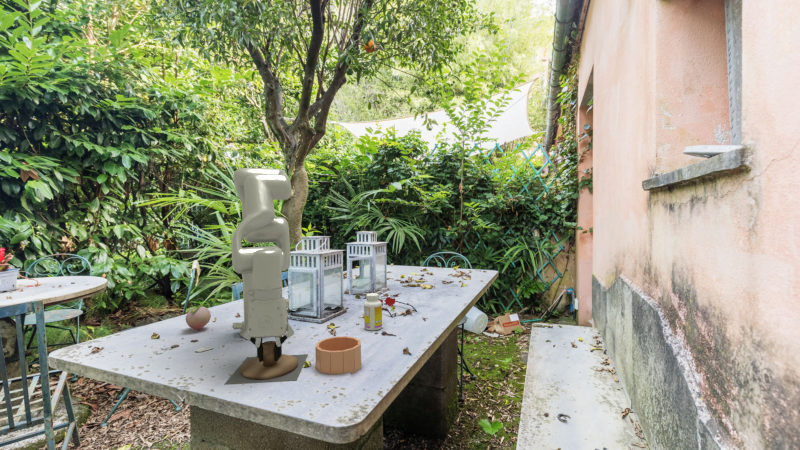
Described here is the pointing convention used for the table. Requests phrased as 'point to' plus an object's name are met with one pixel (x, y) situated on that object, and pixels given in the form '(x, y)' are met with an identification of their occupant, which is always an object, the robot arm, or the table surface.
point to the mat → (293, 376)
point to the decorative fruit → (198, 317)
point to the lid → (269, 364)
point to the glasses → (391, 302)
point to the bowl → (338, 355)
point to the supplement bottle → (372, 312)
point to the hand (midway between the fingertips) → (269, 359)
